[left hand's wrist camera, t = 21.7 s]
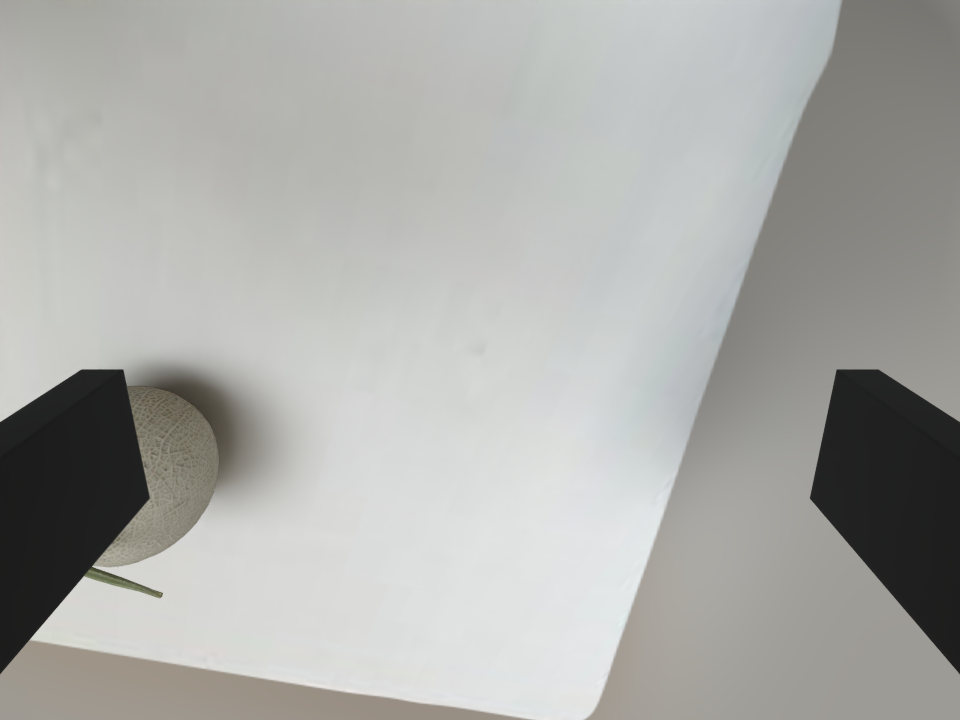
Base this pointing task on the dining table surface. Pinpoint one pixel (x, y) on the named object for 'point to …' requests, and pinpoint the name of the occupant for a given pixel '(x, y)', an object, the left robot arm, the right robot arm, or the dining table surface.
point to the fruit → (164, 480)
